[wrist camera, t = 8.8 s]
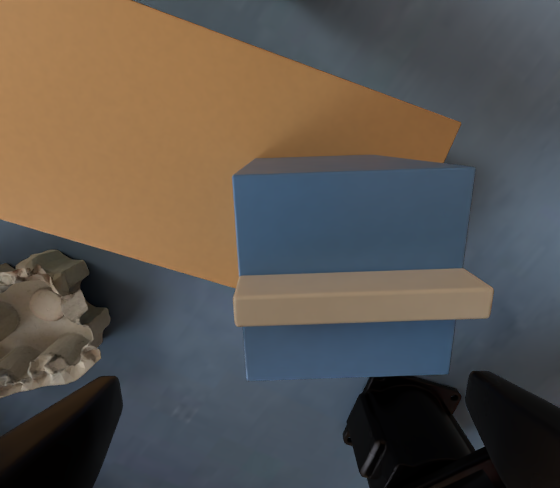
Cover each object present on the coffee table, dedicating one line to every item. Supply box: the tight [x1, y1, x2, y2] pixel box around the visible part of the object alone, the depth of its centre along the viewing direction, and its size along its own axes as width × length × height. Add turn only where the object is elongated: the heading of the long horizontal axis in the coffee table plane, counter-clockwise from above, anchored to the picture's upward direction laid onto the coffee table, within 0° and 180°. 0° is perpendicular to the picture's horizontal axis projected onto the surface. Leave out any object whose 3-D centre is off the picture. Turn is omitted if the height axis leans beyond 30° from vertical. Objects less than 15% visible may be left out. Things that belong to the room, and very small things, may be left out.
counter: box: [0, 0, 461, 288], centre depth 17 cm, size 20×10×4 cm, turn 72°
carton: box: [232, 155, 494, 381], centre depth 11 cm, size 5×5×9 cm
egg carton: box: [0, 250, 111, 398], centre depth 20 cm, size 11×8×4 cm
